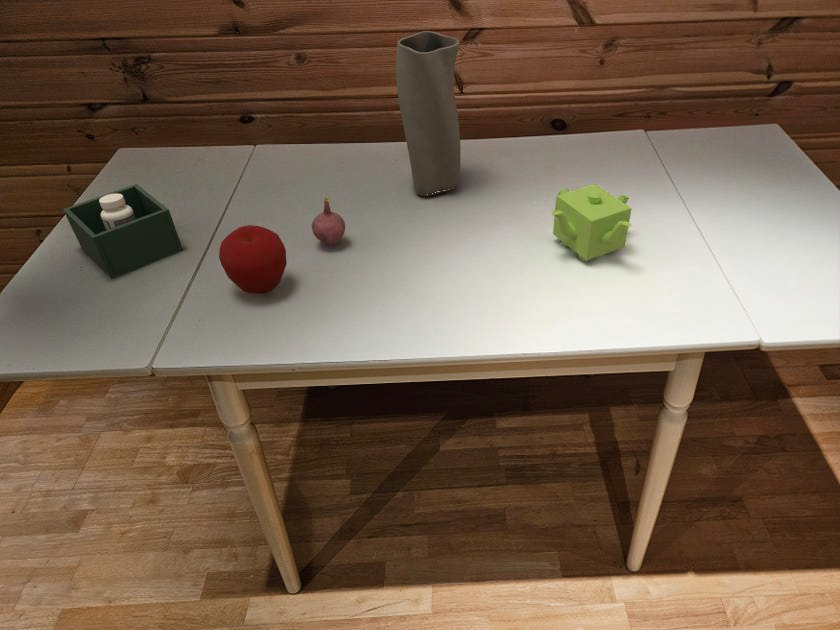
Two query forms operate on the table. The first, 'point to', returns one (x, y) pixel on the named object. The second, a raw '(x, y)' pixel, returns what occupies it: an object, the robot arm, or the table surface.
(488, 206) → the table surface
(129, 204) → the bin
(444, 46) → the vase
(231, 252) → the apple
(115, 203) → the pill bottle
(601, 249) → the green peg cube
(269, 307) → the table surface
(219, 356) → the table surface
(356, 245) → the table surface
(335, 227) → the vegetable
